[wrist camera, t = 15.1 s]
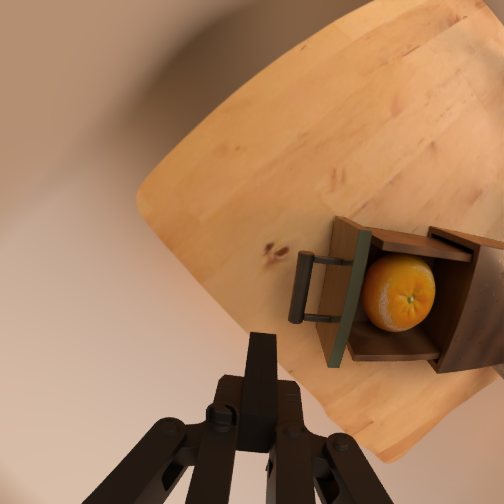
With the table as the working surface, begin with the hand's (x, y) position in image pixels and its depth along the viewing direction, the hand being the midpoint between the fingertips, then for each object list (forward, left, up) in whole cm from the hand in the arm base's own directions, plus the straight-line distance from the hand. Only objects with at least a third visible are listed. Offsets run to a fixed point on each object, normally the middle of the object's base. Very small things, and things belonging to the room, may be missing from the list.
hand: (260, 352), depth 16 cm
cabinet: (+28, 0, -18) cm, 33 cm away
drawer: (+12, 0, -17) cm, 21 cm away
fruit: (+14, 0, -16) cm, 21 cm away
